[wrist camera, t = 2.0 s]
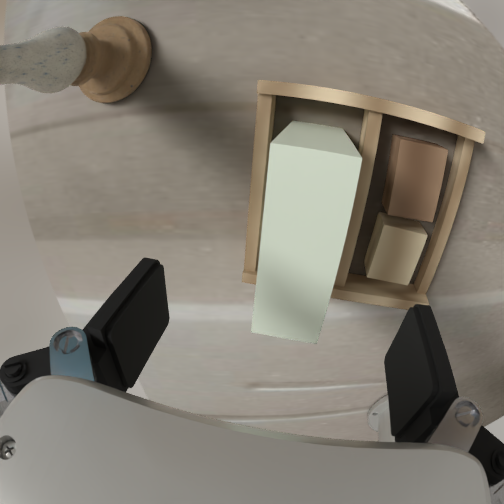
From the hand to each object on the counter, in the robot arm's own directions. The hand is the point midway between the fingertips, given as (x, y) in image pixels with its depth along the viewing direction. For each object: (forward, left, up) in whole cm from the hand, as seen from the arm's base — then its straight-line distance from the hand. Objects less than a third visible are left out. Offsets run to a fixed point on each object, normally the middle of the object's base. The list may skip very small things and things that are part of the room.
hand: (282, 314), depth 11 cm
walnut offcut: (-9, -3, -17) cm, 19 cm away
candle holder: (+19, -11, -17) cm, 27 cm away
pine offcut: (-9, +4, -17) cm, 19 cm away
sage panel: (0, 0, -17) cm, 17 cm away
